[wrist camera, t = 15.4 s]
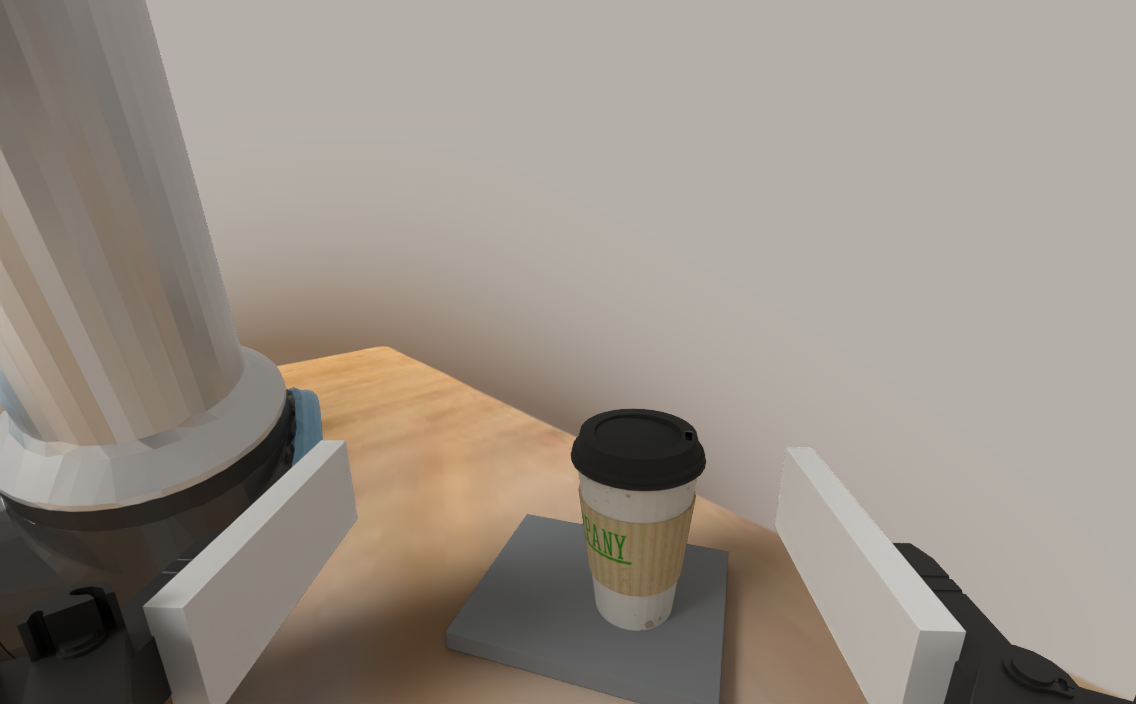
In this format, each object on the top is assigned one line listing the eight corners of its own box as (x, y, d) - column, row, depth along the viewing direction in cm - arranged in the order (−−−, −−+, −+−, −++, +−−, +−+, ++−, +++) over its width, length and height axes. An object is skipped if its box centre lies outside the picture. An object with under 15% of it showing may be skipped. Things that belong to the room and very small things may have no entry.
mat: (446, 647, 40) (445, 631, 40) (527, 526, 55) (527, 514, 54) (717, 725, 34) (718, 707, 33) (727, 565, 48) (728, 551, 48)
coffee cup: (585, 553, 48) (584, 401, 44) (695, 568, 46) (706, 410, 42) (560, 638, 39) (555, 456, 35) (696, 662, 37) (709, 472, 32)
